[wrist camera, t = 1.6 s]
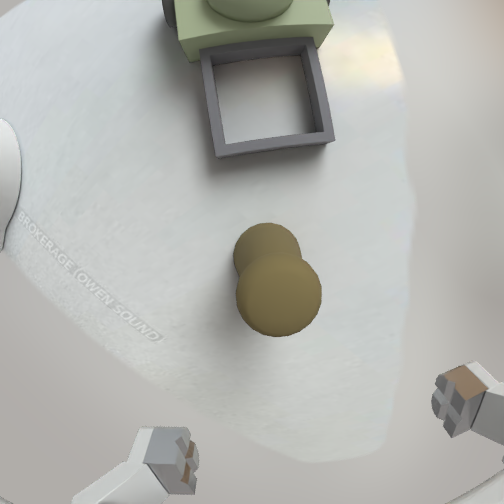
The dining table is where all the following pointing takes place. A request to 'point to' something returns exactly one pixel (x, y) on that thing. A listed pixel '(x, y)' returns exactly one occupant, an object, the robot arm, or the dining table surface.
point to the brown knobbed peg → (274, 281)
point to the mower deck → (255, 54)
